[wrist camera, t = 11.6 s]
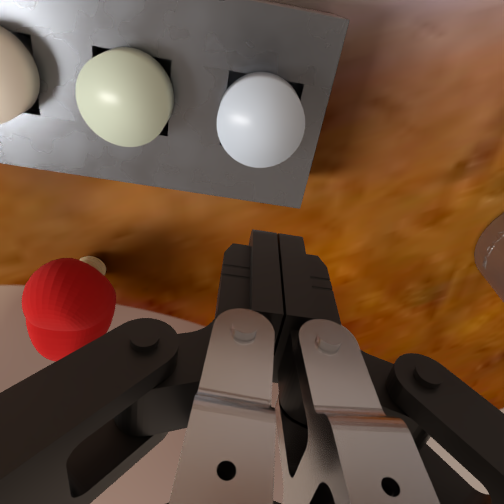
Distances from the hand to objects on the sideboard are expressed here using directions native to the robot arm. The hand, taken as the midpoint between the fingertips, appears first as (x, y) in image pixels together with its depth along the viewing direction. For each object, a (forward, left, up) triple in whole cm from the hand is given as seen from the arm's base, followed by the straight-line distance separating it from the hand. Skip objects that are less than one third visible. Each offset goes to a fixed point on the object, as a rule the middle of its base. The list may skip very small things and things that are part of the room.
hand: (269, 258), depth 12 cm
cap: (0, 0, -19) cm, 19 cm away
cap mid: (+8, 0, -19) cm, 20 cm away
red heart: (+13, +18, -22) cm, 31 cm away
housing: (+8, 0, -22) cm, 23 cm away
